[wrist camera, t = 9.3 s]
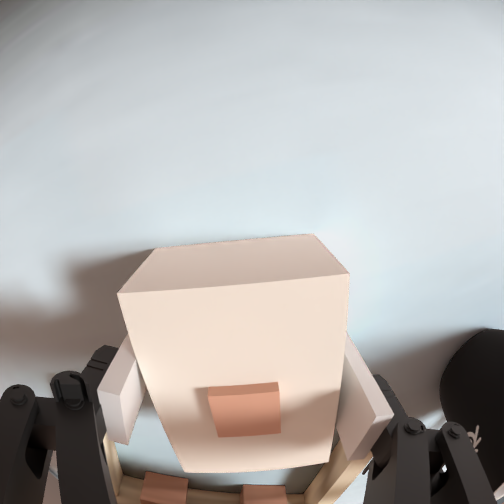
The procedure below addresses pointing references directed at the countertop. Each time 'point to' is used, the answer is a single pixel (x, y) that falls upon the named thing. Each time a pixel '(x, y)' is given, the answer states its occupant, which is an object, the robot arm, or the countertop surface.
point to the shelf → (249, 500)
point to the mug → (479, 400)
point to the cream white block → (242, 349)
